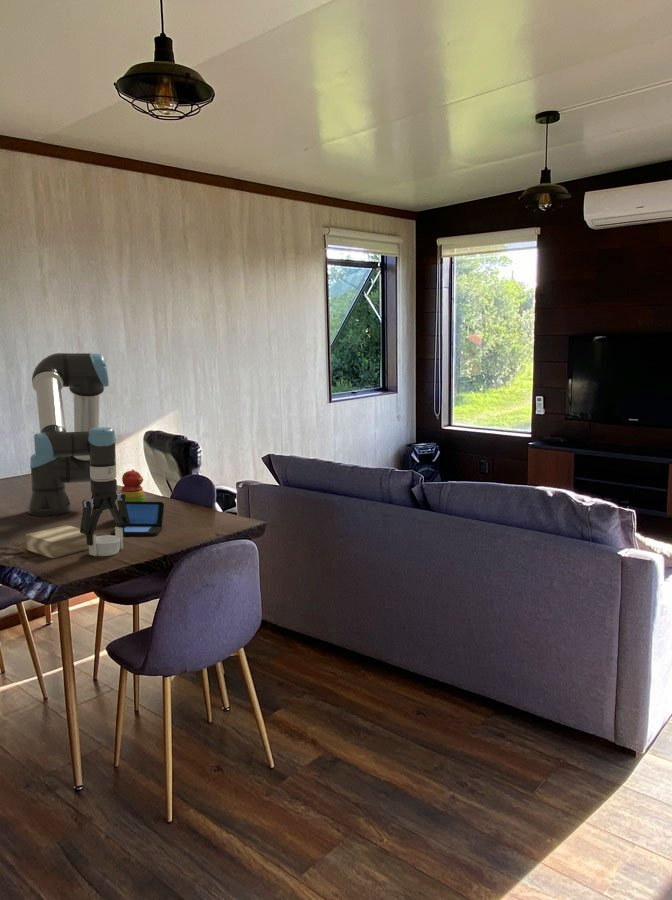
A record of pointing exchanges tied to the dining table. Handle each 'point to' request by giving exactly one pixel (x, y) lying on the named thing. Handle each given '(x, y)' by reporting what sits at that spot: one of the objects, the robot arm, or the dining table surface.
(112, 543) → the ramekin
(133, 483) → the stacking bear
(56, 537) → the ash plinth
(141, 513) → the game console
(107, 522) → the dining table surface
